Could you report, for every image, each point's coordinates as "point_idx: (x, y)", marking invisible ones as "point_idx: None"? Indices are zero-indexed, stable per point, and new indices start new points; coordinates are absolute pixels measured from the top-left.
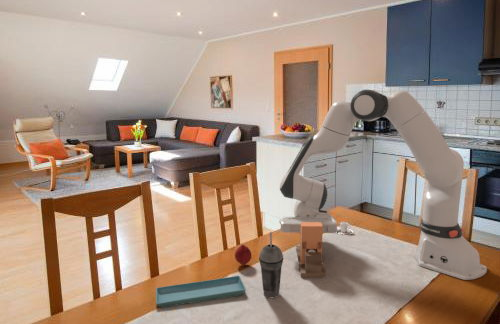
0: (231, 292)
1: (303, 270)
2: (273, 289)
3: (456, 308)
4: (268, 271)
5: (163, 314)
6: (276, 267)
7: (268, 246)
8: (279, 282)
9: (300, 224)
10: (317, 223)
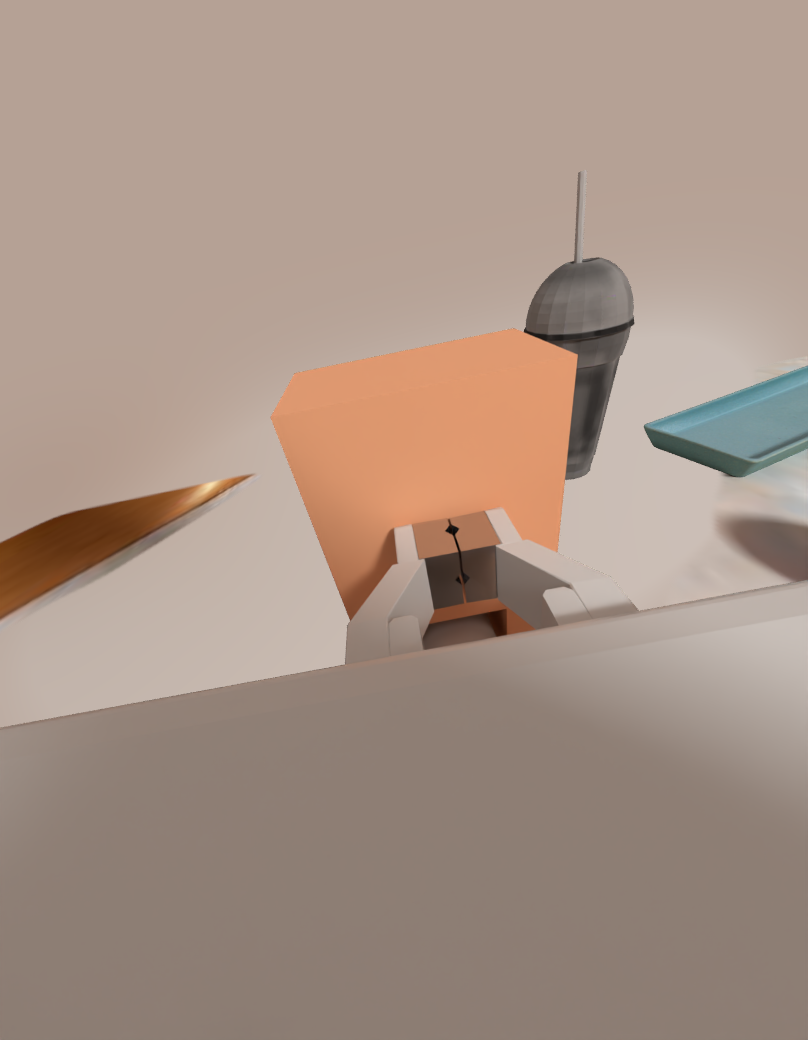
0: (677, 414)
1: None
2: None
3: (60, 534)
4: None
5: (774, 371)
6: None
7: (612, 284)
8: None
9: (689, 603)
10: (334, 387)
